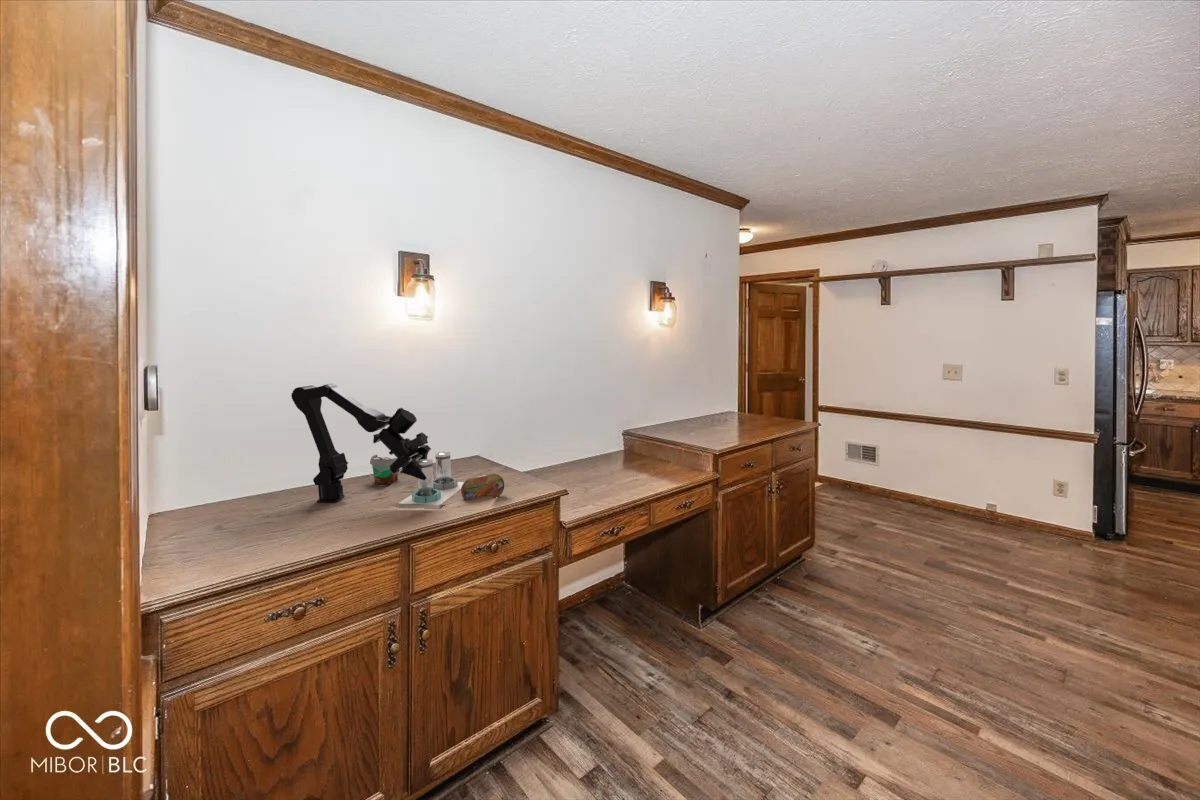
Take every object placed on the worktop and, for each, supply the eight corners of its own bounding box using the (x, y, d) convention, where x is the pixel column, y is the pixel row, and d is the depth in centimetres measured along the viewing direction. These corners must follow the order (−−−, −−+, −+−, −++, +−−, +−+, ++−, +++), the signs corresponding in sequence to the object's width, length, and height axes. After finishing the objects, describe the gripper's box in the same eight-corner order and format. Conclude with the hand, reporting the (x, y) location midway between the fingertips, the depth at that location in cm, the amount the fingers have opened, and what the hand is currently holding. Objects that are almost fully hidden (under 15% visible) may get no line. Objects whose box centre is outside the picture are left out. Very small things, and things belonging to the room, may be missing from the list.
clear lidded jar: (434, 488, 187) (433, 455, 185) (439, 484, 192) (437, 451, 190) (449, 488, 187) (447, 454, 185) (453, 484, 192) (451, 451, 190)
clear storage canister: (419, 499, 172) (417, 463, 171) (416, 495, 177) (415, 460, 175) (435, 497, 175) (434, 461, 173) (432, 493, 179) (431, 458, 177)
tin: (464, 506, 173) (463, 480, 172) (460, 503, 176) (459, 478, 174) (505, 496, 183) (504, 472, 182) (500, 494, 185) (500, 470, 184)
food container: (363, 484, 198) (362, 457, 197) (377, 479, 203) (376, 454, 202) (387, 488, 192) (385, 461, 191) (400, 484, 198) (398, 457, 196)
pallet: (398, 507, 171) (397, 497, 171) (432, 485, 196) (432, 475, 196) (439, 509, 170) (439, 498, 169) (469, 486, 194) (468, 477, 194)
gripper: (396, 432, 164) (432, 468, 164) (424, 421, 182) (456, 453, 182) (374, 456, 166) (409, 491, 166) (403, 443, 184) (435, 475, 184)
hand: (429, 477), depth 175 cm, fingers closed on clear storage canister, 5 cm apart
